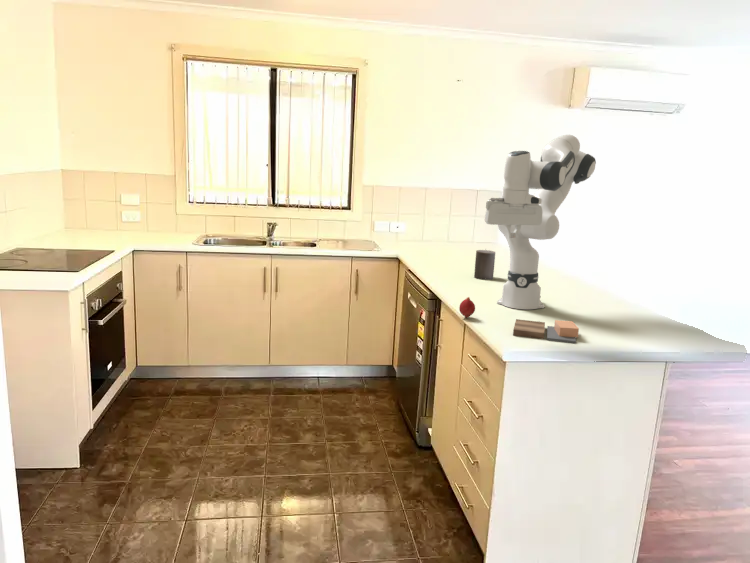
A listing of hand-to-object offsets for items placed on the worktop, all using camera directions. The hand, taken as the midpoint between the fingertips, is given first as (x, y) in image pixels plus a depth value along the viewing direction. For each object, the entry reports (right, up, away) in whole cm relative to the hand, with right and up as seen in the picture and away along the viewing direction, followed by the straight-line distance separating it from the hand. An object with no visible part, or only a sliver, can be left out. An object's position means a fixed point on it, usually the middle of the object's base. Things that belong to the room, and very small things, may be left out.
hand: (511, 237), depth 199 cm
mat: (+15, -34, -8) cm, 38 cm away
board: (+5, -33, -5) cm, 34 cm away
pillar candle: (+7, -14, +87) cm, 88 cm away
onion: (-14, -29, +11) cm, 34 cm away
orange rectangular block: (+17, -33, -8) cm, 38 cm away
